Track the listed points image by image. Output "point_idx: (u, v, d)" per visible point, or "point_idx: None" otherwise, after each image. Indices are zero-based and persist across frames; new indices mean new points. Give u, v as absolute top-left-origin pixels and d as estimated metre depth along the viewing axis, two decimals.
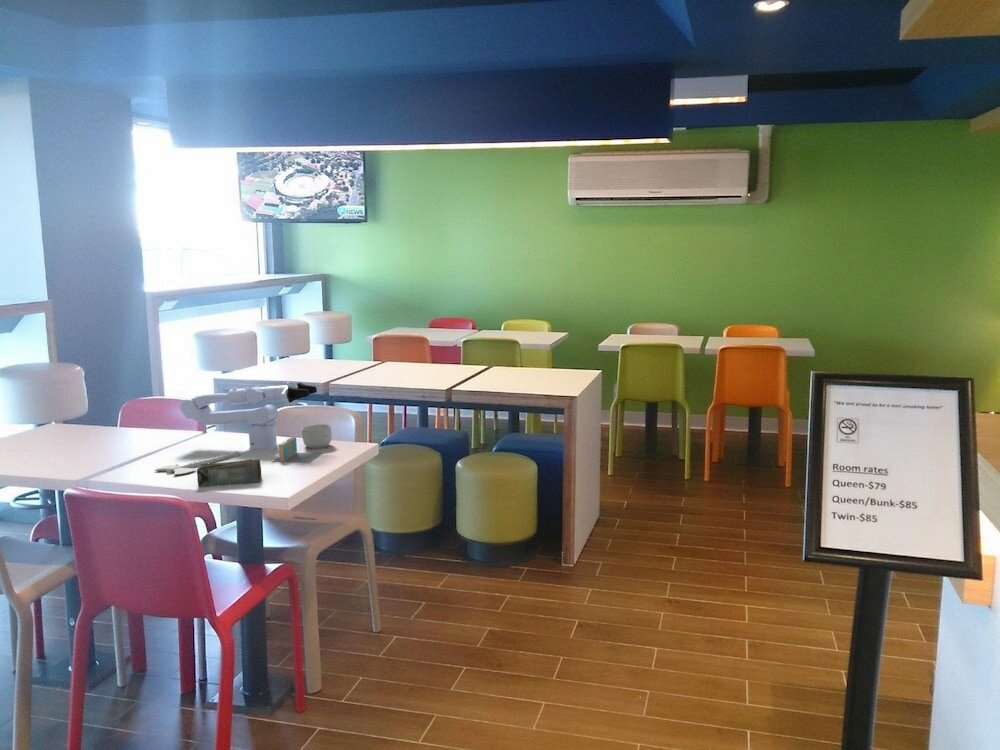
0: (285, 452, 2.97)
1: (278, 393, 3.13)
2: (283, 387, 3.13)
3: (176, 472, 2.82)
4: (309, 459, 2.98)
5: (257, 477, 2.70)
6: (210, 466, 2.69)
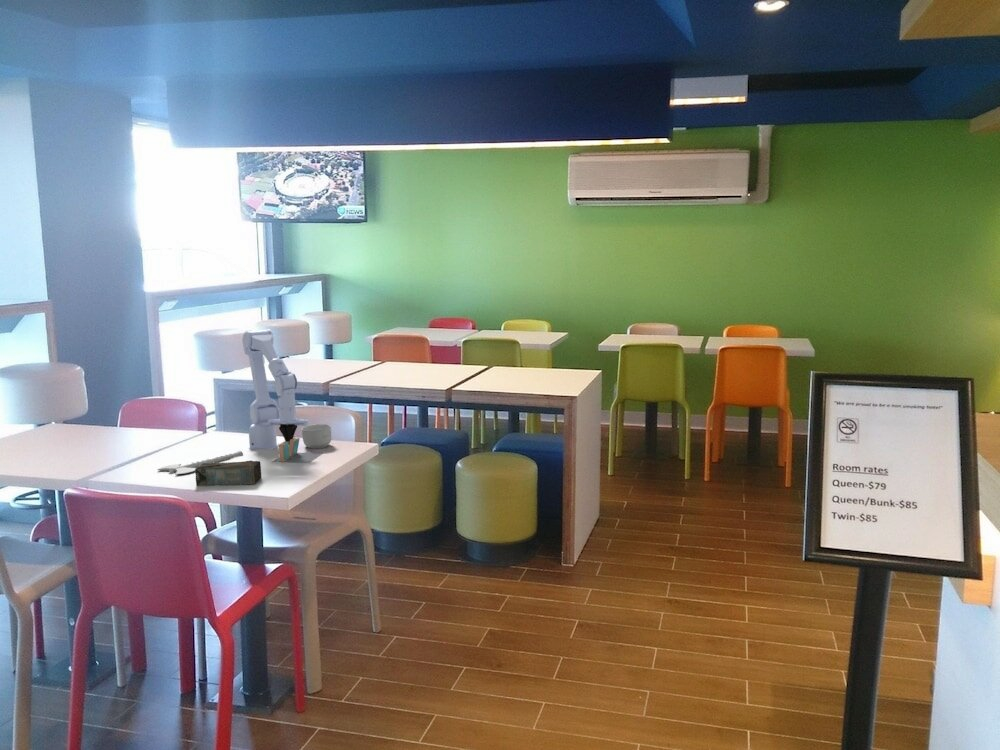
0: (285, 452, 2.97)
1: None
2: (280, 417, 3.01)
3: (178, 472, 2.82)
4: (309, 459, 2.98)
5: (253, 479, 2.68)
6: (209, 466, 2.69)
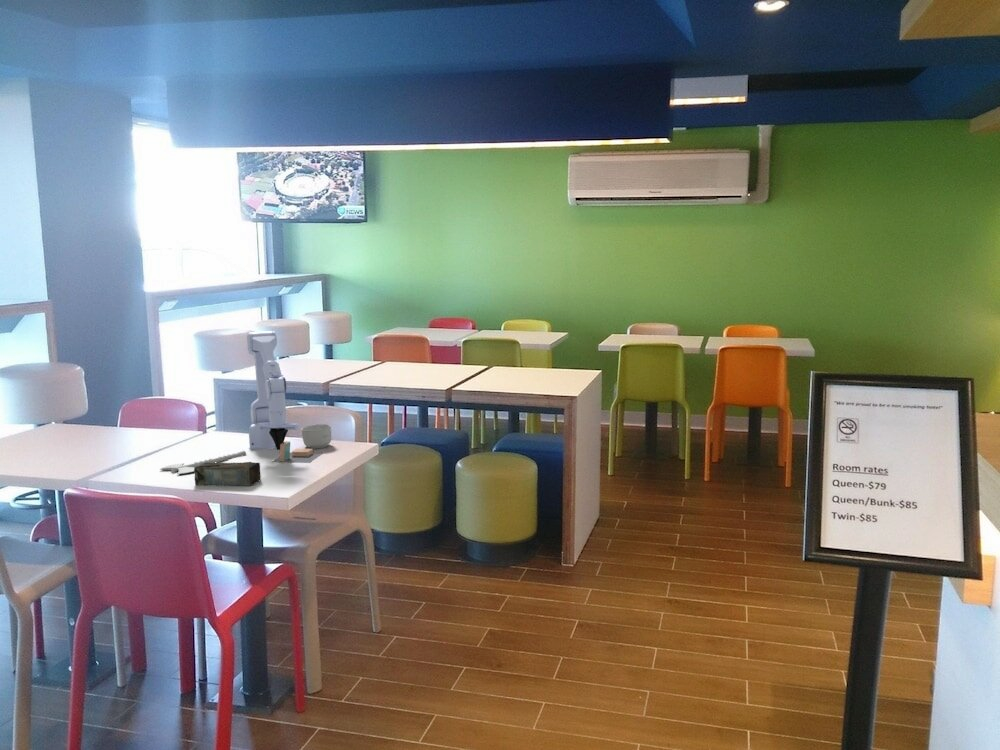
0: (286, 452, 2.97)
1: None
2: (271, 421, 2.94)
3: (180, 471, 2.83)
4: (309, 459, 2.98)
5: (249, 481, 2.66)
6: (208, 465, 2.69)
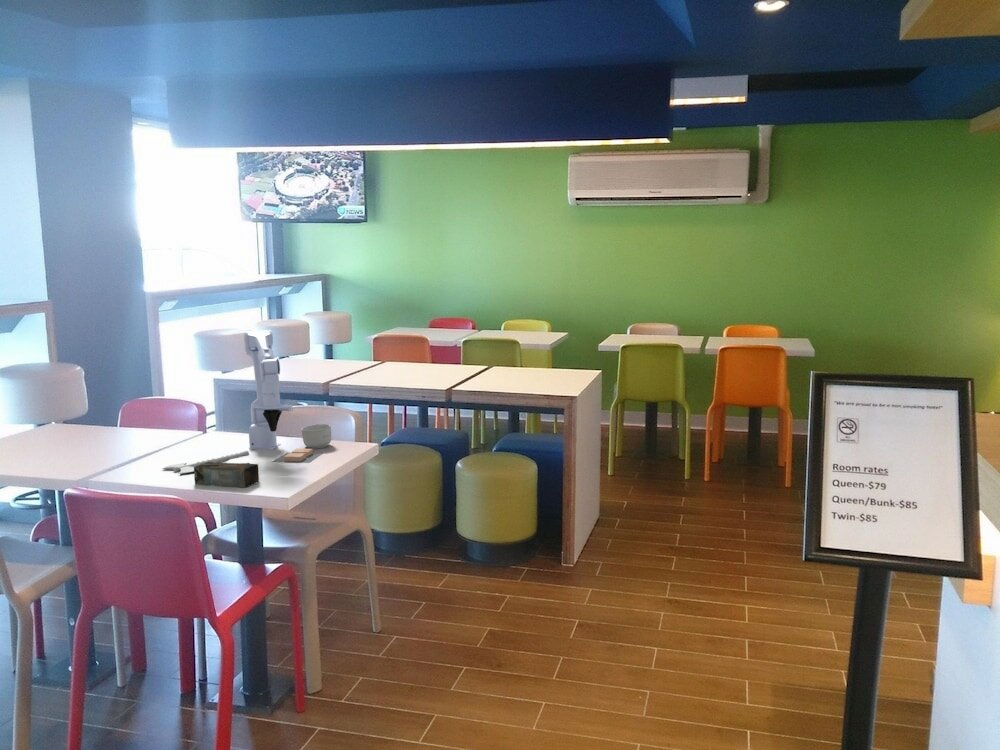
0: None
1: None
2: (264, 403, 2.97)
3: (182, 471, 2.83)
4: (309, 459, 2.98)
5: (244, 482, 2.65)
6: (207, 465, 2.70)
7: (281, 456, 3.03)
